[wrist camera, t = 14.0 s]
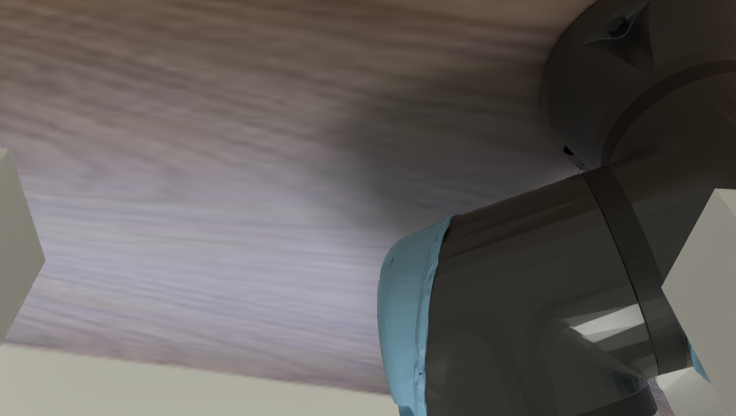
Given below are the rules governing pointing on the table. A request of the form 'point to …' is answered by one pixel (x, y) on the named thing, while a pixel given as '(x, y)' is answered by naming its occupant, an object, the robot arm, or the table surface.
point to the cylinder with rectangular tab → (690, 394)
